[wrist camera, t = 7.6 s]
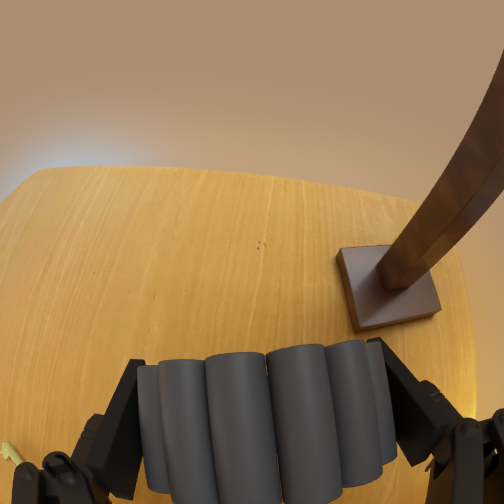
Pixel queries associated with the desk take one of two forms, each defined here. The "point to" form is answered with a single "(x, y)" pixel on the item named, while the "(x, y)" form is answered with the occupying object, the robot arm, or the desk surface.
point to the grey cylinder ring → (267, 424)
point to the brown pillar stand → (430, 227)
